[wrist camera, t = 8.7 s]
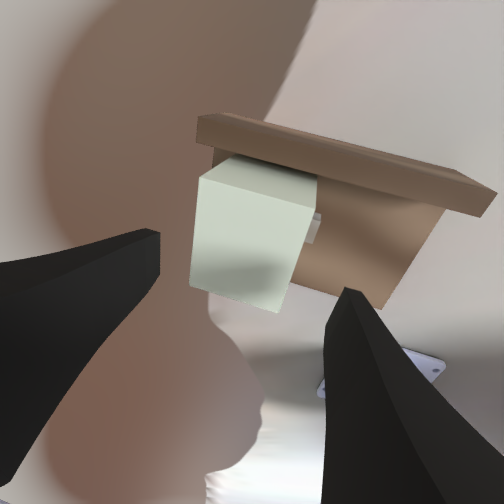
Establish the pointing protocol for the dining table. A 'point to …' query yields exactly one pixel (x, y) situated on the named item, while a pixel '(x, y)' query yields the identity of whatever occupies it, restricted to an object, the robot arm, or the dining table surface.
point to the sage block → (251, 229)
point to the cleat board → (352, 202)
